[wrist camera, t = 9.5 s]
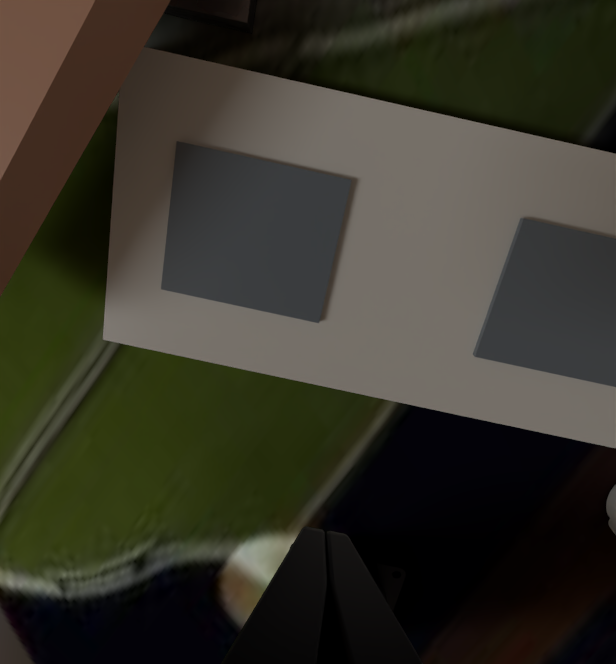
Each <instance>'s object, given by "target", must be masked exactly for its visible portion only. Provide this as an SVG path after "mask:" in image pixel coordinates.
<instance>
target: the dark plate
mask: <svg viewBox="0 0 616 664" xmlns="http://www.w3.org/2000/svg"><path fill="white" fill-rule="evenodd" d="M256 2H257V0H171V1H170V2H169V4H168V6H167V7H166V9H165V11H164V13H163V14H168V15H172V16H177V17H181V18H185V19H190V20H194V21H198V22H203V23H207V24H212V25H216V26H220V27H225V28H229V29H233V30H238V31H242V32H247V33H251V34H252V29H253V23H254V16H255V9H256Z"/></svg>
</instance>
